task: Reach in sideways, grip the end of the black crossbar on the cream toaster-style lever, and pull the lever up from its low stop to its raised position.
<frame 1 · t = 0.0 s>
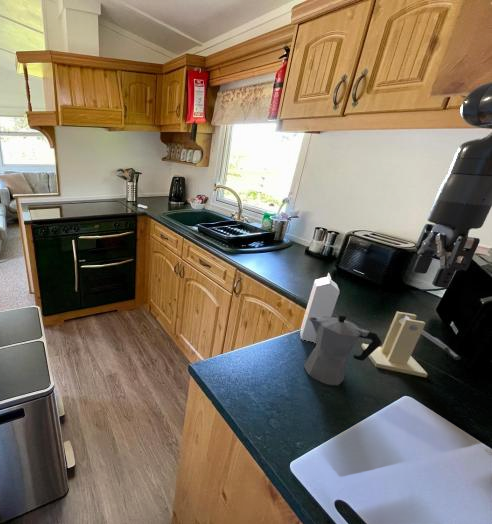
hand: (428, 279, 60), 32 cm above the countertop, tool pointing down, fingers open, 8 cm apart
coffeepot: (327, 375, 77), on the countertop
milk: (310, 338, 93), on the countertop
lever: (425, 334, 80), point 10 cm above the countertop, hinge at -28.0°
bracket: (391, 360, 85), on the countertop
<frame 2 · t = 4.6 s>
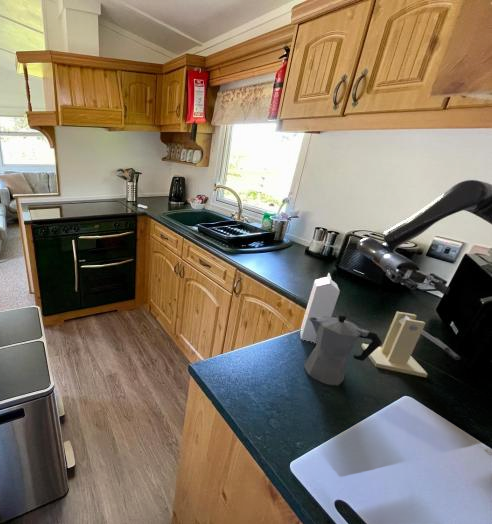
hand: (431, 289, 87), 20 cm above the countertop, tool horizontal, fingers open, 8 cm apart
nothing on the countertop moved.
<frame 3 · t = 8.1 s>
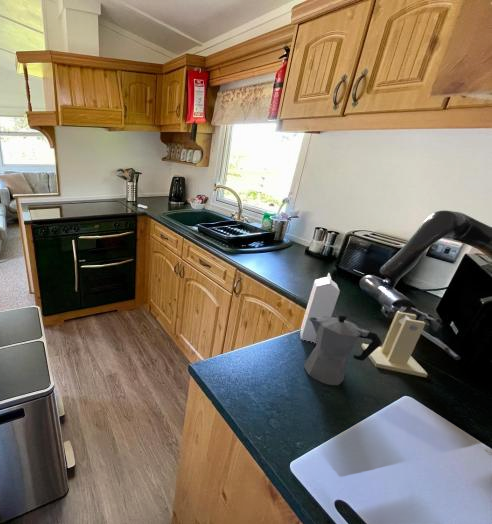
hand: (422, 326, 89), 8 cm above the countertop, tool horizontal, fingers open, 8 cm apart
nothing on the countertop moved.
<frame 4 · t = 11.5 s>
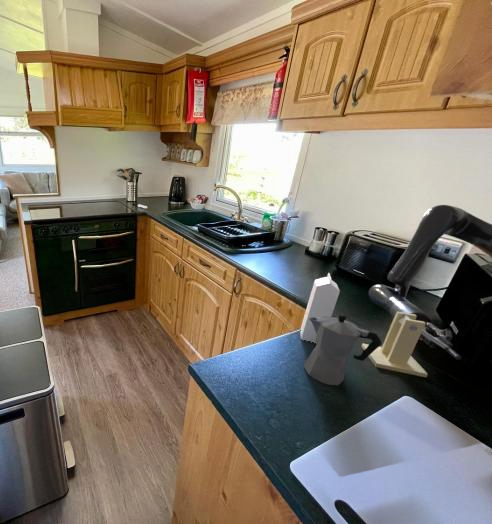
hand: (441, 346, 80), 7 cm above the countertop, tool horizontal, fingers closed on lever, 2 cm apart
lever: (426, 334, 80), point 10 cm above the countertop, hinge at -27.2°, touching gripper
everything else where it was.
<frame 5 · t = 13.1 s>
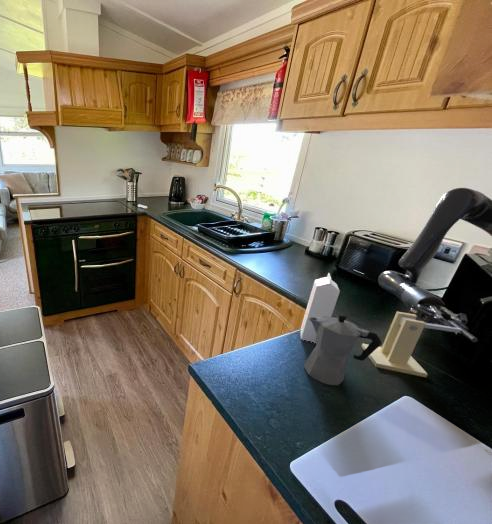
hand: (458, 330, 78), 13 cm above the countertop, tool horizontal, fingers closed
lever: (432, 326, 79), point 13 cm above the countertop, hinge at 1.7°, touching gripper
everything else where it was.
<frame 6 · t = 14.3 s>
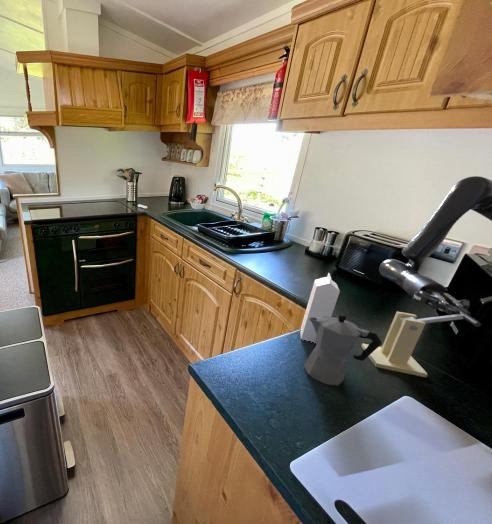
hand: (462, 315, 76), 17 cm above the countertop, tool horizontal, fingers closed, pressing on lever
lever: (433, 319, 78), point 15 cm above the countertop, hinge at 23.0°, touching gripper
everything else where it was.
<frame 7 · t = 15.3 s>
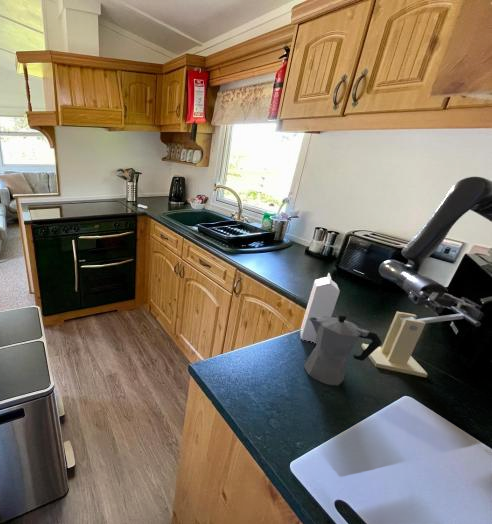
hand: (460, 313, 77), 18 cm above the countertop, tool horizontal, fingers open, 8 cm apart
lever: (433, 319, 78), point 15 cm above the countertop, hinge at 23.3°
everything else where it was.
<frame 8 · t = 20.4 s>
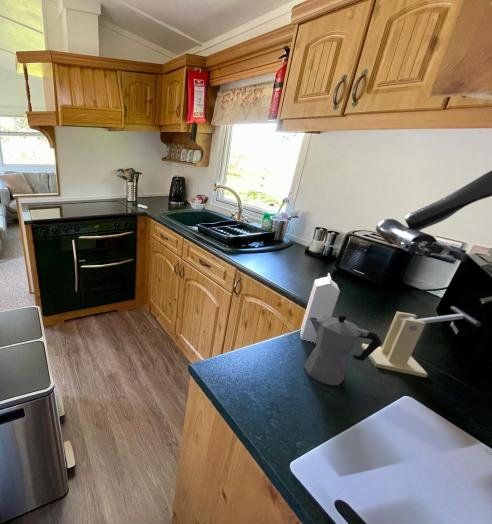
hand: (447, 255, 84), 30 cm above the countertop, tool horizontal, fingers open, 8 cm apart
nothing on the countertop moved.
at the end: lever at +23° (first picture: -28°); lever reached +23° during the clip, +23° at the end; the gripper is holding nothing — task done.
